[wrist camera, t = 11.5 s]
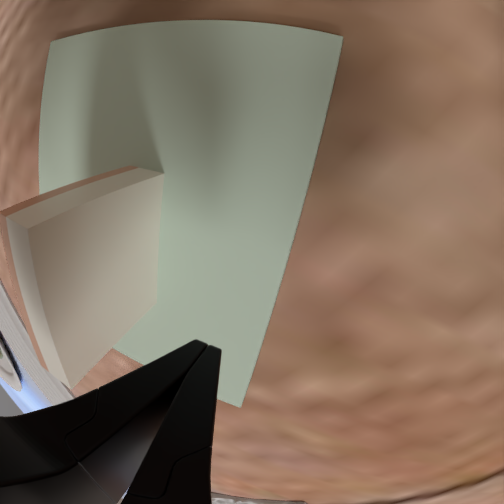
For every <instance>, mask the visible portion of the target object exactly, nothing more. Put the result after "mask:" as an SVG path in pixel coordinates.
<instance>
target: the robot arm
mask: <svg viewBox="0 0 504 504" xmlns="http://www.w3.org/2000/svg"><path fill="white" fill-rule="evenodd" d="M221 355H222V350H221V349H220V348H218V347H215V346H213V345H208V344H207V343H205V342H203V341H200V340H198V339H194V340H192V341H190V342H188V343H187V344H185V345H183V346H181V347H179V348H177V349H175V350H173V351H171V352H169V353H167V354H166V355H164V356H162V357H160V358H158V359H156V360H154V361H152V362H150V363H148V364H146V365H144V366H142V367H140V368H138V369H136V370H134V371H132V372H130V373H128V374H126V375H124V376H122V377H120V378H118V379H116V380H114V381H112V382H109V383H107V384H105V385H103V386H101V387H99V390H98V389H95V390H92V391H90V392H88V393H86V394H84V395H81V396H79V397H76V398H74V399H72V400H69V401H66V402H63V403H60V404H57V405H54V406H51V407H47V408H44V409H41V410H37V411H34V412H30V413H26V414H23V415H18V416H12V417H0V504H117V503H118V501H119V500H120V499H121V497H122V496H123V495H124V493H125V492H126V490H127V489H128V488H129V489H128V491H127V494H126V495H125V497H124V499H123V501H122V502H121V504H212V498H211V480H210V474H211V456H212V444H213V433H214V423H215V413H216V403H217V393H218V383H219V374H220V365H221ZM129 486H130V487H129Z"/></svg>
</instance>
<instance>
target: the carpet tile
mask: <svg viewBox="0 0 504 504" xmlns="http://www.w3.org/2000/svg"><path fill="white" fill-rule="evenodd" d="M211 498H212V504H307V503H306V502H292V501H273V500H260V499H249V498H242V497H235V496H229V495H222V494H216V493H211Z"/></svg>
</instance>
